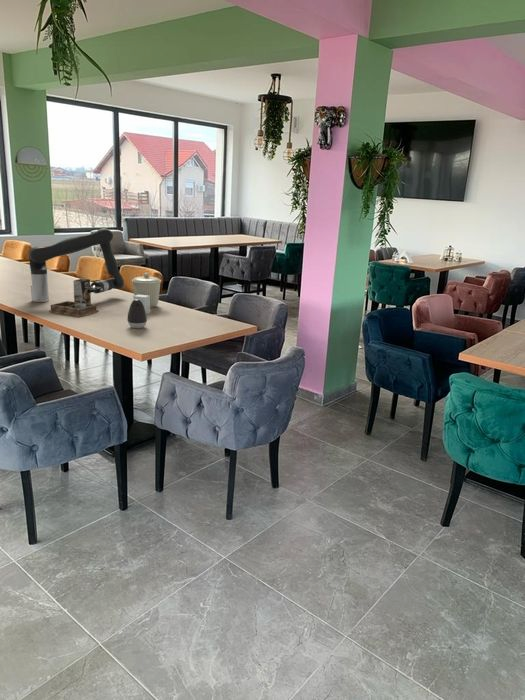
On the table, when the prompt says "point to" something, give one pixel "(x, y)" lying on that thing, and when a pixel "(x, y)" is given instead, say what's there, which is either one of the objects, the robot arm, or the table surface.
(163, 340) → the table surface
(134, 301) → the black and white dome
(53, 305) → the caddy
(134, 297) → the small box
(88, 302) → the coffee box
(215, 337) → the table surface
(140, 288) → the canister
